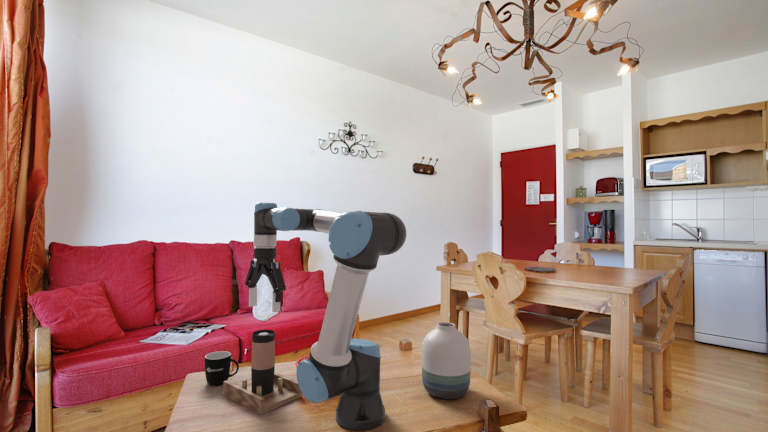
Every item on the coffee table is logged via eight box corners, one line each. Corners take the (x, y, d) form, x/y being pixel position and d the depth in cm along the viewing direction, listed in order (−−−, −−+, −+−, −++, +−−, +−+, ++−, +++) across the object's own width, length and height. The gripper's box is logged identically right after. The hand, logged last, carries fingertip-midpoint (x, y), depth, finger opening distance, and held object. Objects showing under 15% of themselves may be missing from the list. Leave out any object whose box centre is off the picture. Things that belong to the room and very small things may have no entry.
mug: (200, 388, 135) (200, 359, 135) (209, 378, 144) (209, 351, 144) (235, 387, 136) (235, 358, 136) (241, 377, 145) (242, 350, 145)
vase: (412, 387, 137) (413, 321, 138) (450, 379, 145) (450, 316, 145) (440, 408, 122) (440, 333, 123) (480, 397, 130) (480, 327, 130)
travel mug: (250, 388, 132) (251, 330, 132) (273, 385, 134) (274, 328, 135) (251, 397, 124) (252, 336, 125) (275, 394, 127) (276, 334, 127)
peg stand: (301, 396, 129) (301, 380, 129) (261, 414, 116) (261, 396, 116) (263, 379, 142) (263, 365, 143) (223, 394, 130) (223, 378, 130)
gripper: (297, 248, 126) (296, 312, 126) (253, 245, 141) (252, 302, 141) (278, 249, 120) (277, 316, 120) (235, 246, 135) (234, 305, 135)
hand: (264, 308), depth 130 cm, fingers open, 13 cm apart
